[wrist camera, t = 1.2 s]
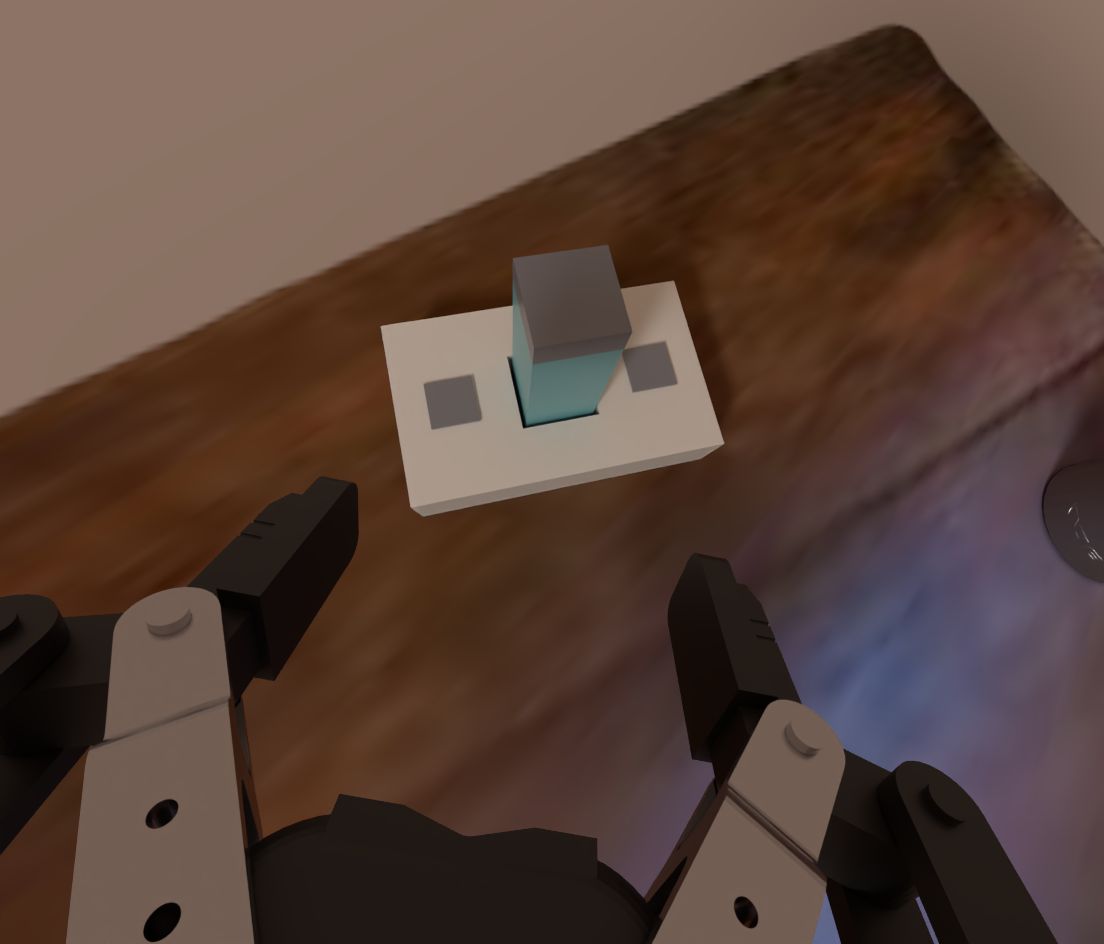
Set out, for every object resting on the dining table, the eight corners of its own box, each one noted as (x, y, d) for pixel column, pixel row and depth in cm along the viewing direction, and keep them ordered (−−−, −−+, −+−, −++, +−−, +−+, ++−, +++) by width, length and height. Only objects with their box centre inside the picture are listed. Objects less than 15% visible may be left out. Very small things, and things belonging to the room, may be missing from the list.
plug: (570, 374, 35) (607, 244, 22) (584, 430, 34) (632, 331, 21) (512, 384, 35) (512, 258, 21) (524, 441, 34) (533, 348, 20)
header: (656, 312, 37) (674, 278, 33) (700, 458, 35) (725, 442, 30) (395, 354, 34) (380, 324, 30) (423, 516, 32) (410, 507, 28)
